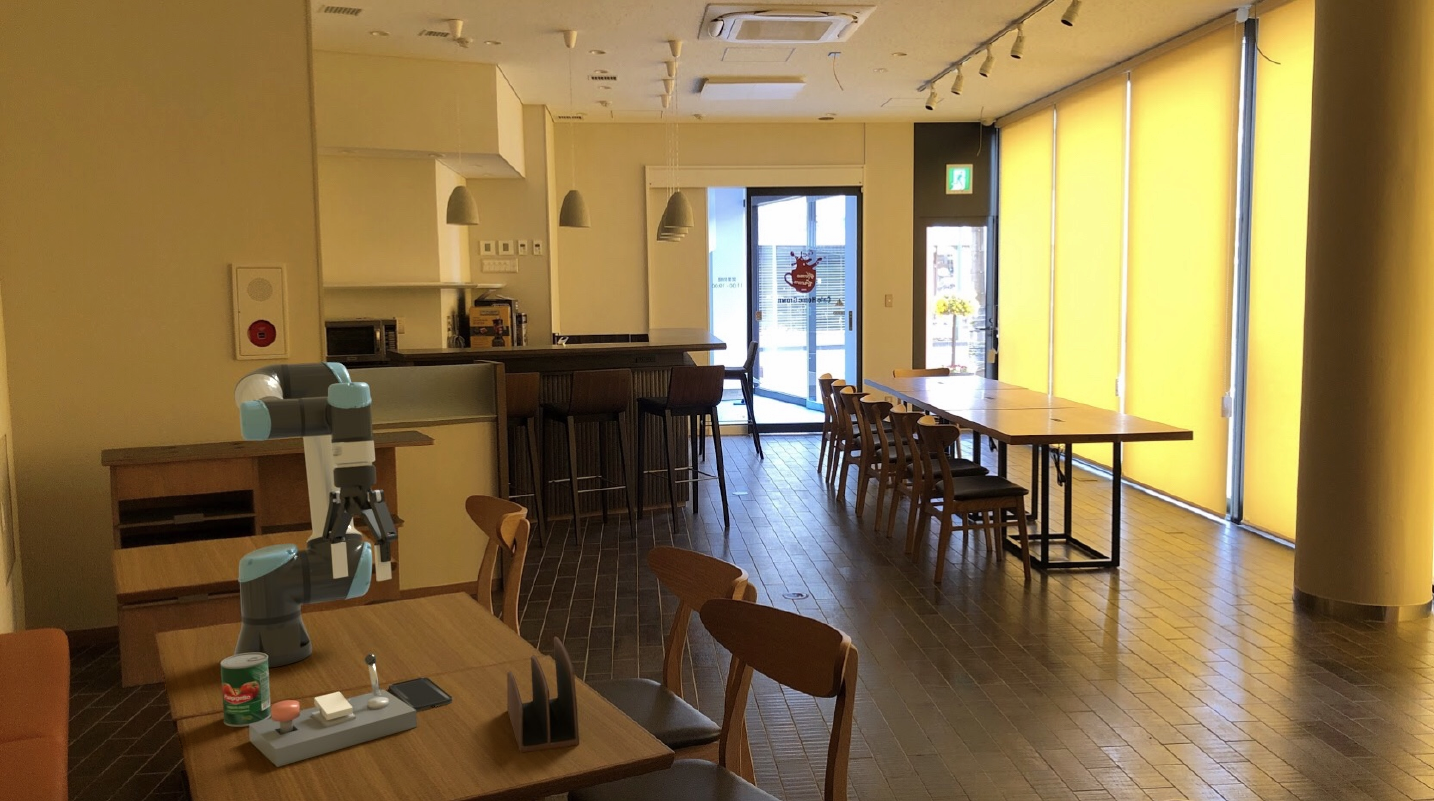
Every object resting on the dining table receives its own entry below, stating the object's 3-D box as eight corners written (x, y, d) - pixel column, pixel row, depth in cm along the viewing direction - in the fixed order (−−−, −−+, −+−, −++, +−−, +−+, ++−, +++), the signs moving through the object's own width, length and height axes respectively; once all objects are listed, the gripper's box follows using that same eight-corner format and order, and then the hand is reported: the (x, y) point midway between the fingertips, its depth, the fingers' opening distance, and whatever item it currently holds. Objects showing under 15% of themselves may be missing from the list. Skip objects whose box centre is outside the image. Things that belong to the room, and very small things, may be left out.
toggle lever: (369, 697, 190) (362, 655, 192) (380, 694, 192) (372, 653, 193) (373, 696, 189) (366, 654, 190) (384, 693, 190) (377, 652, 192)
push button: (269, 733, 180) (267, 704, 180) (295, 726, 183) (293, 698, 183) (277, 741, 177) (276, 712, 177) (304, 733, 180) (303, 705, 179)
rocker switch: (314, 705, 186) (314, 697, 186) (339, 698, 189) (339, 691, 188) (327, 721, 182) (327, 714, 181) (352, 715, 184) (352, 707, 184)
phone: (426, 676, 211) (454, 698, 199) (426, 681, 211) (454, 704, 199) (386, 685, 207) (412, 708, 195) (386, 690, 207) (412, 714, 195)
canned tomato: (224, 730, 188) (220, 669, 187) (223, 714, 195) (219, 656, 194) (272, 721, 191) (269, 662, 190) (270, 707, 199) (267, 649, 198)
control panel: (249, 740, 183) (248, 719, 183) (384, 704, 199) (383, 685, 198) (277, 766, 172) (275, 744, 172) (417, 726, 188) (416, 705, 188)
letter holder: (561, 704, 198) (558, 629, 196) (579, 745, 179) (577, 664, 178) (506, 711, 195) (504, 635, 194) (519, 754, 176) (516, 671, 175)
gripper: (298, 468, 204) (306, 579, 204) (377, 464, 189) (385, 584, 189) (333, 465, 210) (340, 572, 210) (412, 461, 195) (420, 577, 195)
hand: (362, 578), depth 199 cm, fingers open, 13 cm apart
